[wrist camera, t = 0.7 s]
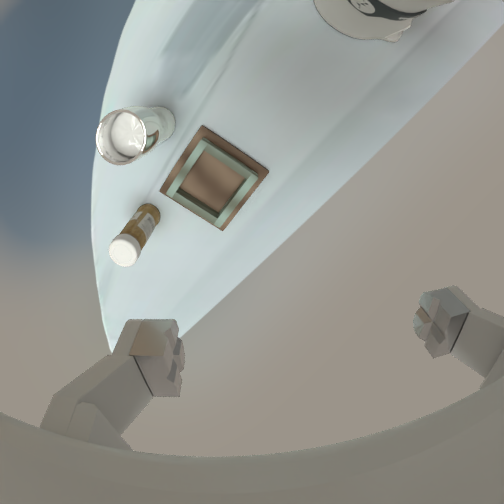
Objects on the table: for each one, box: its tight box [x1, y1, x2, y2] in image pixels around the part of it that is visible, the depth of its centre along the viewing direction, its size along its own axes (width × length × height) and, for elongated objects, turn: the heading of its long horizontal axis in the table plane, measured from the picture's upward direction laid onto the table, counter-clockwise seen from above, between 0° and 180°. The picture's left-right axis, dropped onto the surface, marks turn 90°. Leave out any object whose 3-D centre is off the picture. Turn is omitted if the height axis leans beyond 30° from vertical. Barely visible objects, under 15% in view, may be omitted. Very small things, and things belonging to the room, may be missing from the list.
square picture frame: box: [160, 125, 269, 231], centre depth 43 cm, size 13×13×4 cm
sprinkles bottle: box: [109, 204, 160, 267], centre depth 42 cm, size 5×5×13 cm
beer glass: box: [96, 106, 175, 165], centre depth 33 cm, size 7×7×15 cm
